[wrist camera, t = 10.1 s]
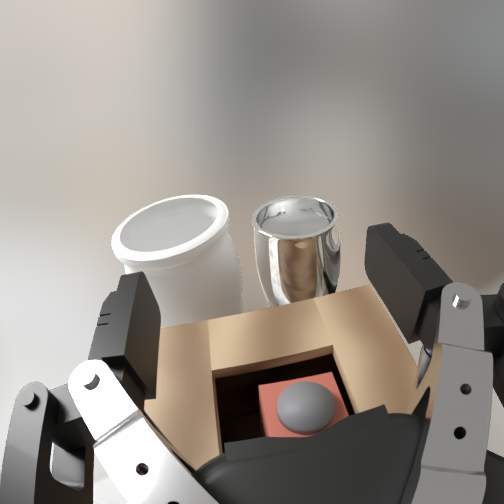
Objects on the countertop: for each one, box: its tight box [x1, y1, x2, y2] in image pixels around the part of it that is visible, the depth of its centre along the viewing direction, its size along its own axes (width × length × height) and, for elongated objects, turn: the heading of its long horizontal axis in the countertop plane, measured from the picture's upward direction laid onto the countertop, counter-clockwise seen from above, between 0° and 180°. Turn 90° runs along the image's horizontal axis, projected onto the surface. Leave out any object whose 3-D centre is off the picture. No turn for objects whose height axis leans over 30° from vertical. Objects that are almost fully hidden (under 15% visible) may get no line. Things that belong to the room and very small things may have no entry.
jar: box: [111, 195, 243, 328], centre depth 30 cm, size 11×10×15 cm
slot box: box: [144, 285, 418, 469], centre depth 17 cm, size 14×14×13 cm
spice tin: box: [259, 372, 349, 437], centre depth 17 cm, size 4×4×12 cm
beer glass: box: [252, 195, 341, 308], centre depth 28 cm, size 7×7×15 cm
